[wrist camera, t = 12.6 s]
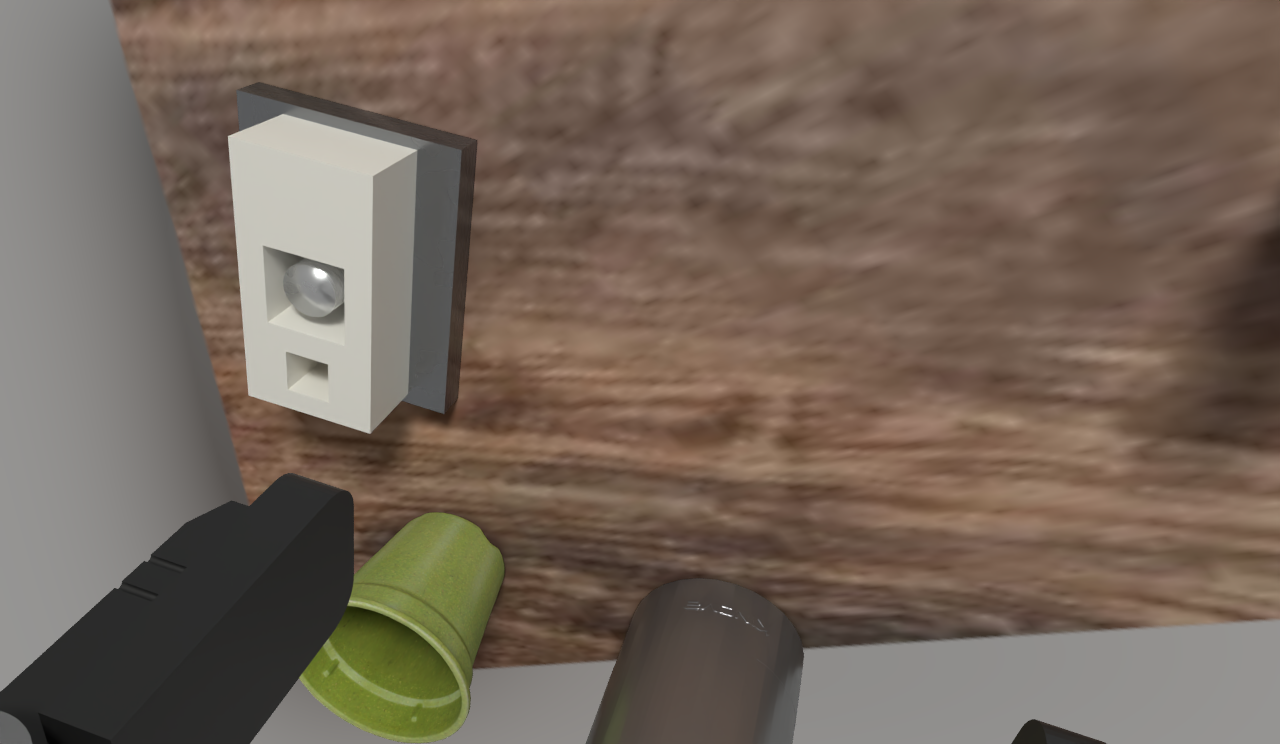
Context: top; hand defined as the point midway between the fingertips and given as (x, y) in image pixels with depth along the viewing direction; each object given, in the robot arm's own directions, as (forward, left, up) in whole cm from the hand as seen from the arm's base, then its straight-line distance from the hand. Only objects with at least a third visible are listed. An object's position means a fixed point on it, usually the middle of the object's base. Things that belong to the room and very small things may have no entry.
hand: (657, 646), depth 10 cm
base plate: (-11, +19, -26) cm, 34 cm away
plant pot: (-28, +13, -26) cm, 41 cm away
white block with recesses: (-11, +18, -25) cm, 33 cm away
